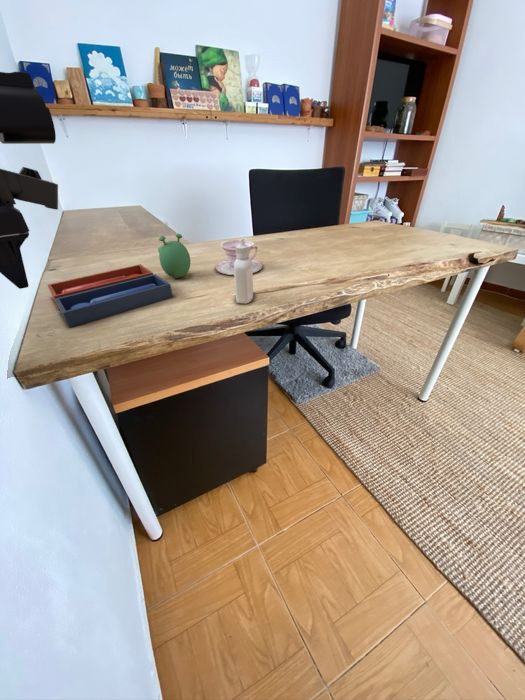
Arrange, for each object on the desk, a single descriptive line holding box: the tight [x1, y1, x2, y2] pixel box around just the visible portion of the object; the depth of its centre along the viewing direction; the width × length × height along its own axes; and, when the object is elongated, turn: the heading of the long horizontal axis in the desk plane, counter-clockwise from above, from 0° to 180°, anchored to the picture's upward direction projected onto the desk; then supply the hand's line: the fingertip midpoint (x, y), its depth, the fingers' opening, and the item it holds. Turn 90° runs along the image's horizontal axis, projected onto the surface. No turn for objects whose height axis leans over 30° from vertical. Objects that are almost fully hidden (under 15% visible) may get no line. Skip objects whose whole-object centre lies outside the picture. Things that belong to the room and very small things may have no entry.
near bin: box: [54, 273, 174, 328], centre depth 59 cm, size 20×8×3 cm, turn 129°
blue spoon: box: [70, 284, 157, 310], centre depth 59 cm, size 17×4×2 cm, turn 129°
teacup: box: [215, 239, 263, 276], centre depth 75 cm, size 12×12×6 cm
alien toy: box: [157, 233, 191, 279], centre depth 69 cm, size 7×8×10 cm
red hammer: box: [61, 274, 141, 294], centre depth 64 cm, size 17×4×2 cm, turn 129°
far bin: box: [46, 263, 154, 309], centre depth 64 cm, size 20×8×3 cm, turn 129°
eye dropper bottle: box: [233, 237, 254, 305], centre depth 58 cm, size 4×6×12 cm
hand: (20, 278), depth 42 cm, fingers open, 9 cm apart
